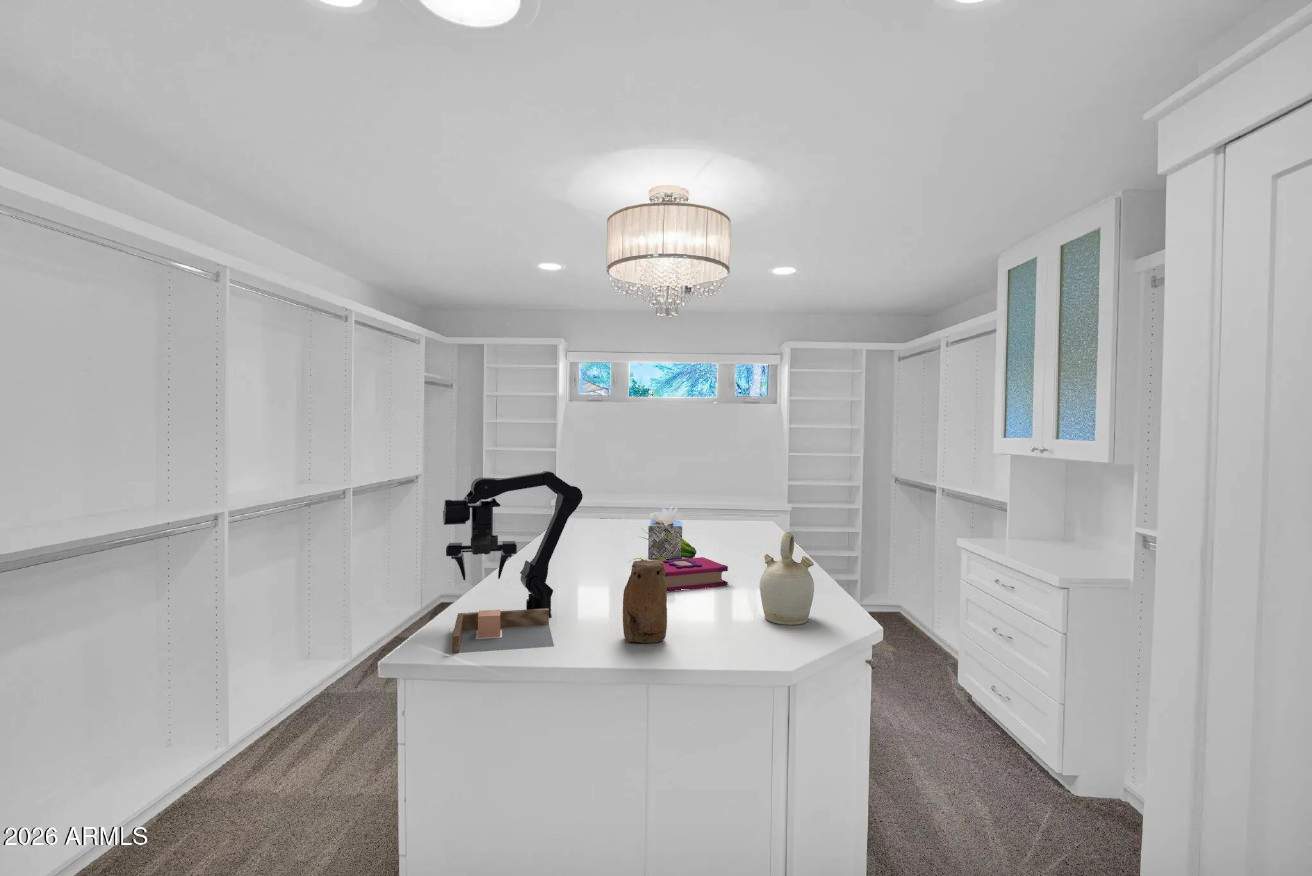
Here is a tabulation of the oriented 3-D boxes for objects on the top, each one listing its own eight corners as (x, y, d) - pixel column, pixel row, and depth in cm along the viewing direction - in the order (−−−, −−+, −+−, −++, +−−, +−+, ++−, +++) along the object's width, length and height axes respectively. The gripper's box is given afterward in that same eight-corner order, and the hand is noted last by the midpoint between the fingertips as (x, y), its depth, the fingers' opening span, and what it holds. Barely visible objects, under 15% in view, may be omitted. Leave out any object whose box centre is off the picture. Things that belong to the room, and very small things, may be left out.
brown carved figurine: (661, 634, 169) (662, 558, 169) (668, 643, 162) (669, 564, 162) (620, 636, 167) (621, 560, 166) (626, 646, 159) (627, 565, 159)
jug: (823, 618, 185) (824, 532, 185) (795, 630, 173) (796, 538, 173) (778, 608, 195) (778, 526, 195) (748, 619, 184) (749, 532, 184)
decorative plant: (625, 558, 272) (625, 524, 272) (694, 557, 275) (694, 523, 275) (627, 567, 254) (627, 530, 254) (701, 566, 257) (701, 529, 257)
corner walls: (548, 622, 177) (548, 608, 177) (554, 646, 158) (554, 630, 158) (457, 628, 172) (458, 613, 172) (452, 653, 152) (452, 636, 152)
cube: (500, 630, 170) (500, 609, 170) (500, 636, 165) (500, 615, 165) (478, 631, 169) (478, 610, 169) (477, 638, 163) (478, 616, 163)
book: (632, 580, 232) (633, 559, 232) (701, 574, 243) (701, 554, 243) (656, 594, 213) (656, 571, 213) (729, 587, 224) (729, 565, 224)
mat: (548, 623, 177) (548, 622, 177) (554, 647, 158) (554, 645, 158) (457, 629, 172) (457, 627, 172) (452, 654, 152) (452, 652, 152)
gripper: (444, 528, 168) (444, 587, 168) (517, 526, 172) (516, 584, 172) (447, 522, 179) (447, 578, 179) (516, 521, 183) (516, 575, 183)
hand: (481, 579), depth 178 cm, fingers open, 9 cm apart
